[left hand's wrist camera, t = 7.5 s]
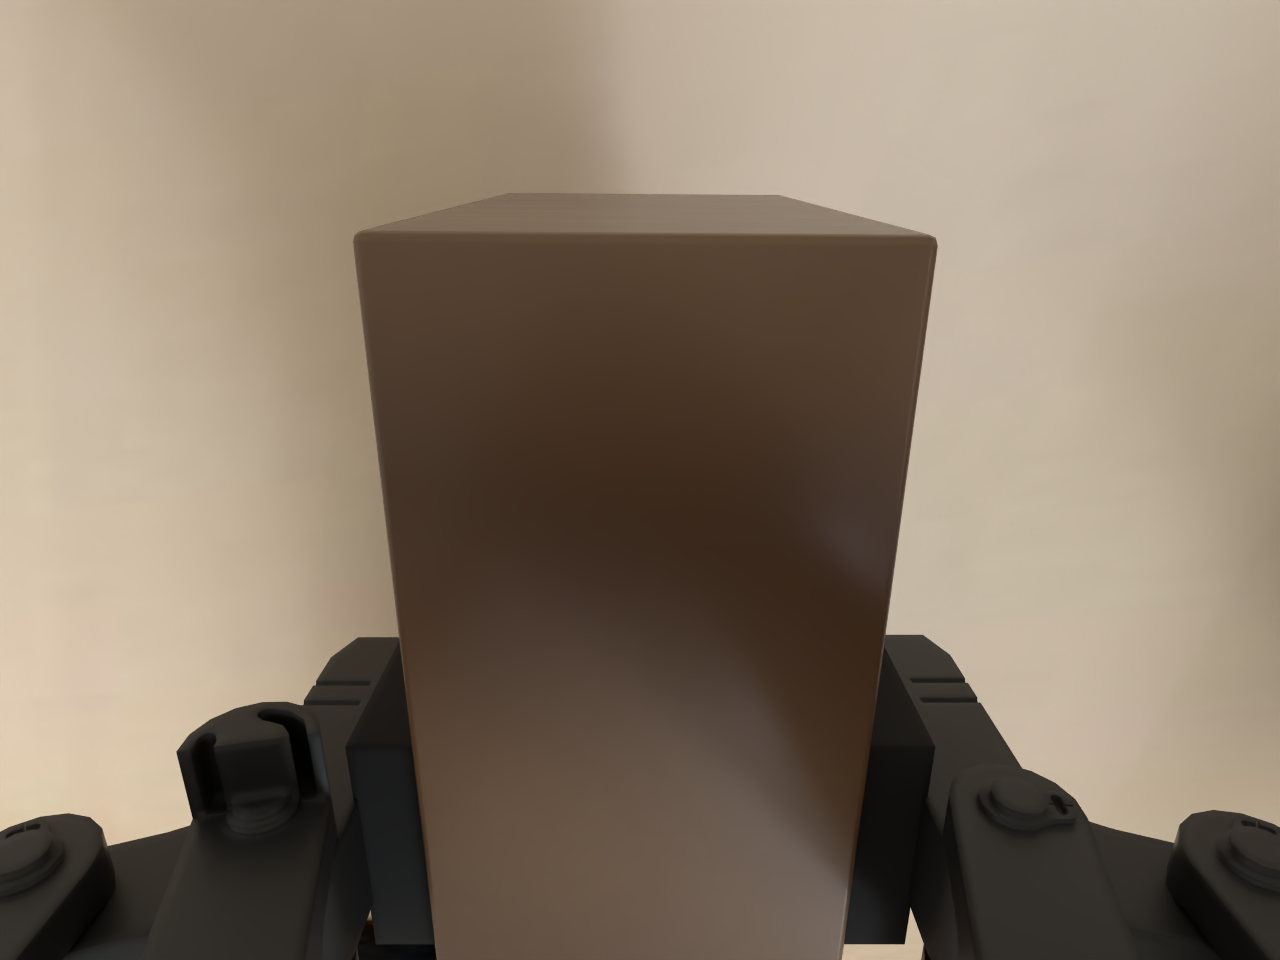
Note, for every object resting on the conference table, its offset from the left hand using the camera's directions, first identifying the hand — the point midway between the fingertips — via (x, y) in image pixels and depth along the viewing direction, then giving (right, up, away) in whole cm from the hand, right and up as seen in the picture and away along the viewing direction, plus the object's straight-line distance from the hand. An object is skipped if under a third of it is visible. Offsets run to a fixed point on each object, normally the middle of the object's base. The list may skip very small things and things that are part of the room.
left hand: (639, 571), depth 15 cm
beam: (0, -26, +11) cm, 29 cm away
